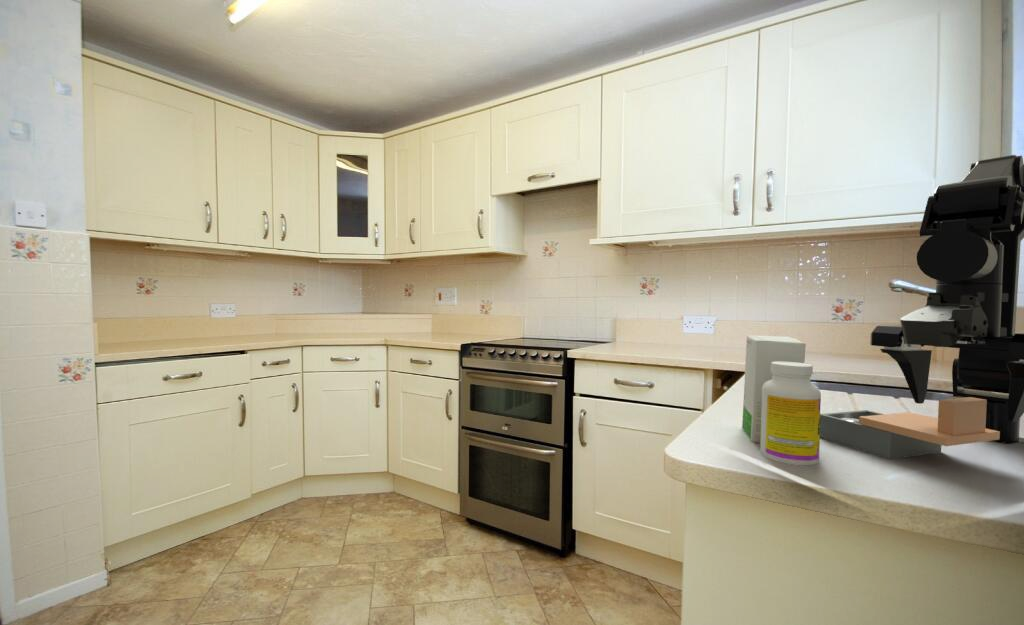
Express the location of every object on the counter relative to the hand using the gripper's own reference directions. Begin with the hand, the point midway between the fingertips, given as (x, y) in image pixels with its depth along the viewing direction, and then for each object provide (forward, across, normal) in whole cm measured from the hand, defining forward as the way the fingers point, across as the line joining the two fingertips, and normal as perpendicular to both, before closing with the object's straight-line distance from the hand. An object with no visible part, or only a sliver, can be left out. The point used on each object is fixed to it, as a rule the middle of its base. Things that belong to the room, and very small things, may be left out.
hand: (962, 411), depth 56 cm
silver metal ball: (+7, -12, -2) cm, 14 cm away
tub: (+8, -10, 0) cm, 12 cm away
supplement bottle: (+8, -9, -17) cm, 21 cm away
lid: (+4, -4, 0) cm, 5 cm away
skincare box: (+8, -17, -12) cm, 22 cm away
